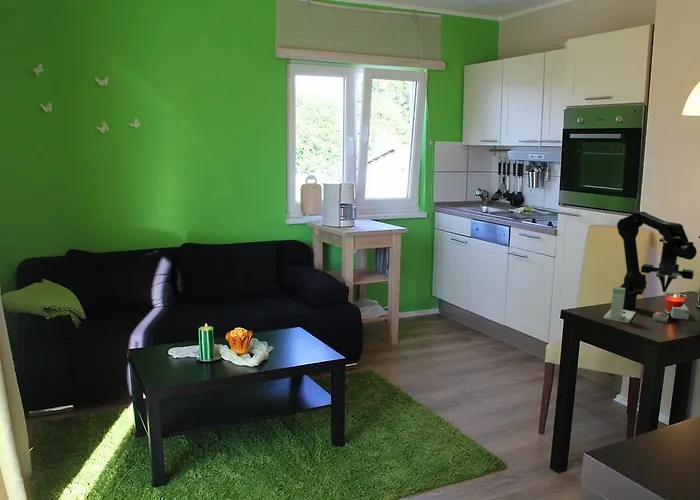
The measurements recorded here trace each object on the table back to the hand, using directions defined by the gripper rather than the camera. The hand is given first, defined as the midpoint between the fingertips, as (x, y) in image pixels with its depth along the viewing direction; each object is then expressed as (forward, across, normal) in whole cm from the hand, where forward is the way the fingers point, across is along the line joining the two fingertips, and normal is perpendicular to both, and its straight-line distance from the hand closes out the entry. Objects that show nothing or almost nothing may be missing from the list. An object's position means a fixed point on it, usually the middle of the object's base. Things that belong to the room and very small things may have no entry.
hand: (664, 292), depth 251 cm
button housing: (+12, 0, 0) cm, 12 cm away
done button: (+11, 0, 0) cm, 11 cm away
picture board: (+12, -15, -5) cm, 20 cm away
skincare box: (+10, +4, +20) cm, 22 cm away
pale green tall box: (+11, -16, -10) cm, 21 cm away
